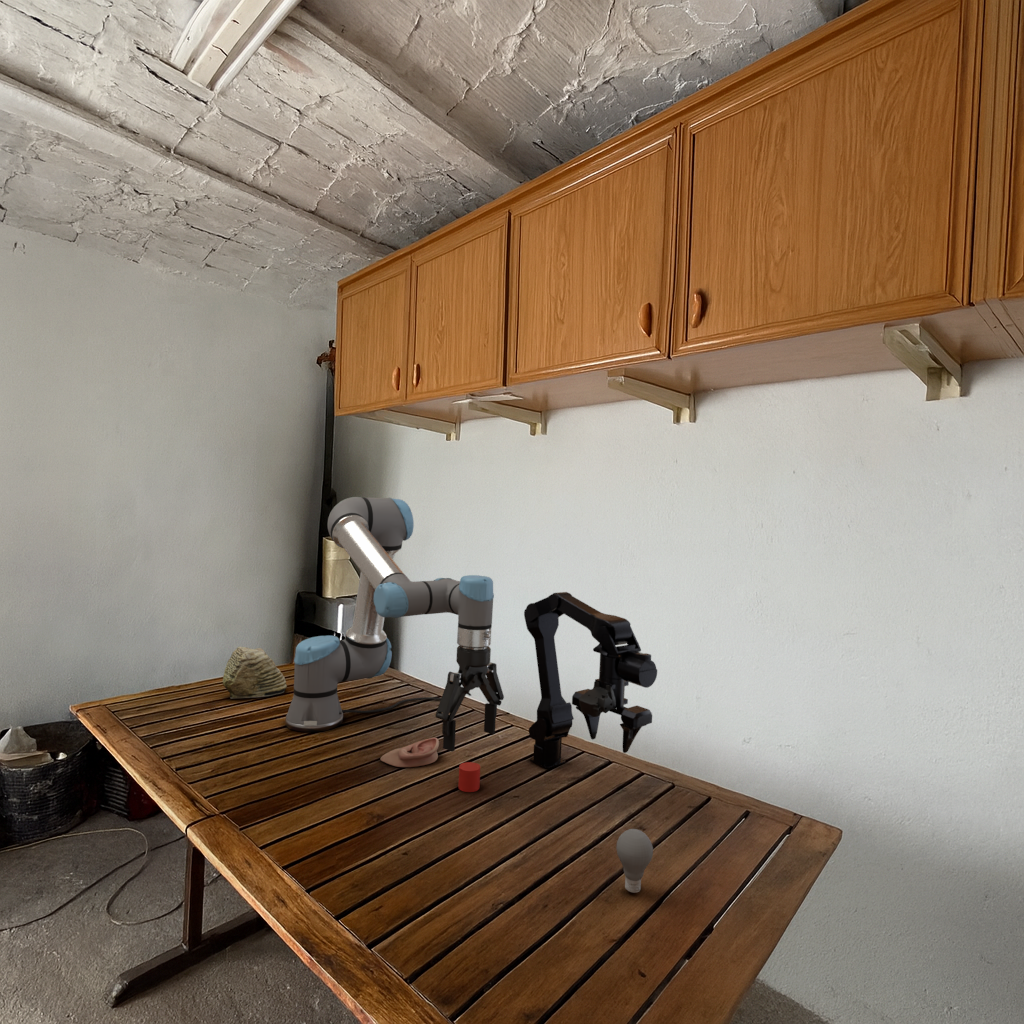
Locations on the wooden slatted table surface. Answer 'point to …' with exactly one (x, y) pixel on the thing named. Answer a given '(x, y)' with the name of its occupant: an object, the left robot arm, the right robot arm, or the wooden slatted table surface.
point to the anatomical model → (413, 754)
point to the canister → (469, 777)
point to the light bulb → (634, 857)
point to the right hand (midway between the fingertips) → (608, 745)
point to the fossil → (252, 674)
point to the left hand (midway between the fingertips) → (469, 741)
